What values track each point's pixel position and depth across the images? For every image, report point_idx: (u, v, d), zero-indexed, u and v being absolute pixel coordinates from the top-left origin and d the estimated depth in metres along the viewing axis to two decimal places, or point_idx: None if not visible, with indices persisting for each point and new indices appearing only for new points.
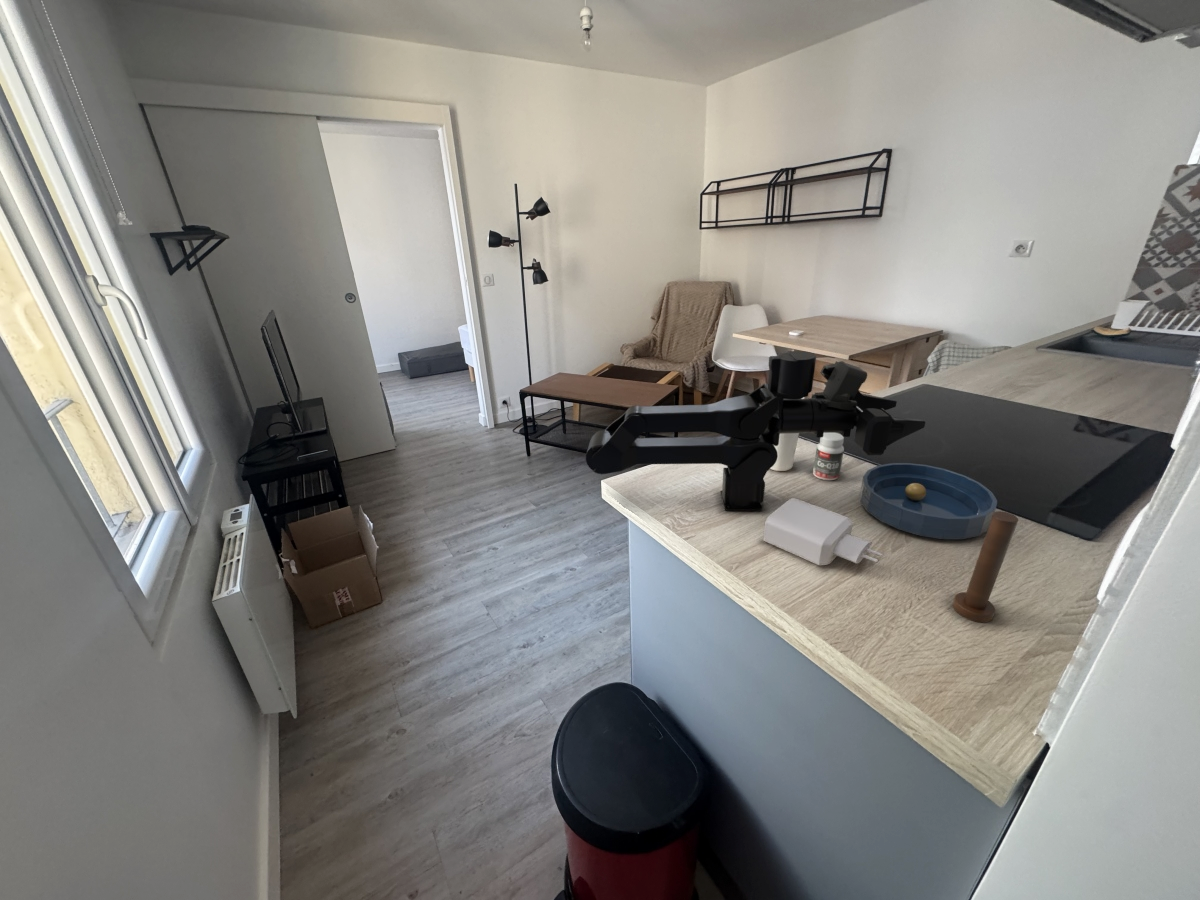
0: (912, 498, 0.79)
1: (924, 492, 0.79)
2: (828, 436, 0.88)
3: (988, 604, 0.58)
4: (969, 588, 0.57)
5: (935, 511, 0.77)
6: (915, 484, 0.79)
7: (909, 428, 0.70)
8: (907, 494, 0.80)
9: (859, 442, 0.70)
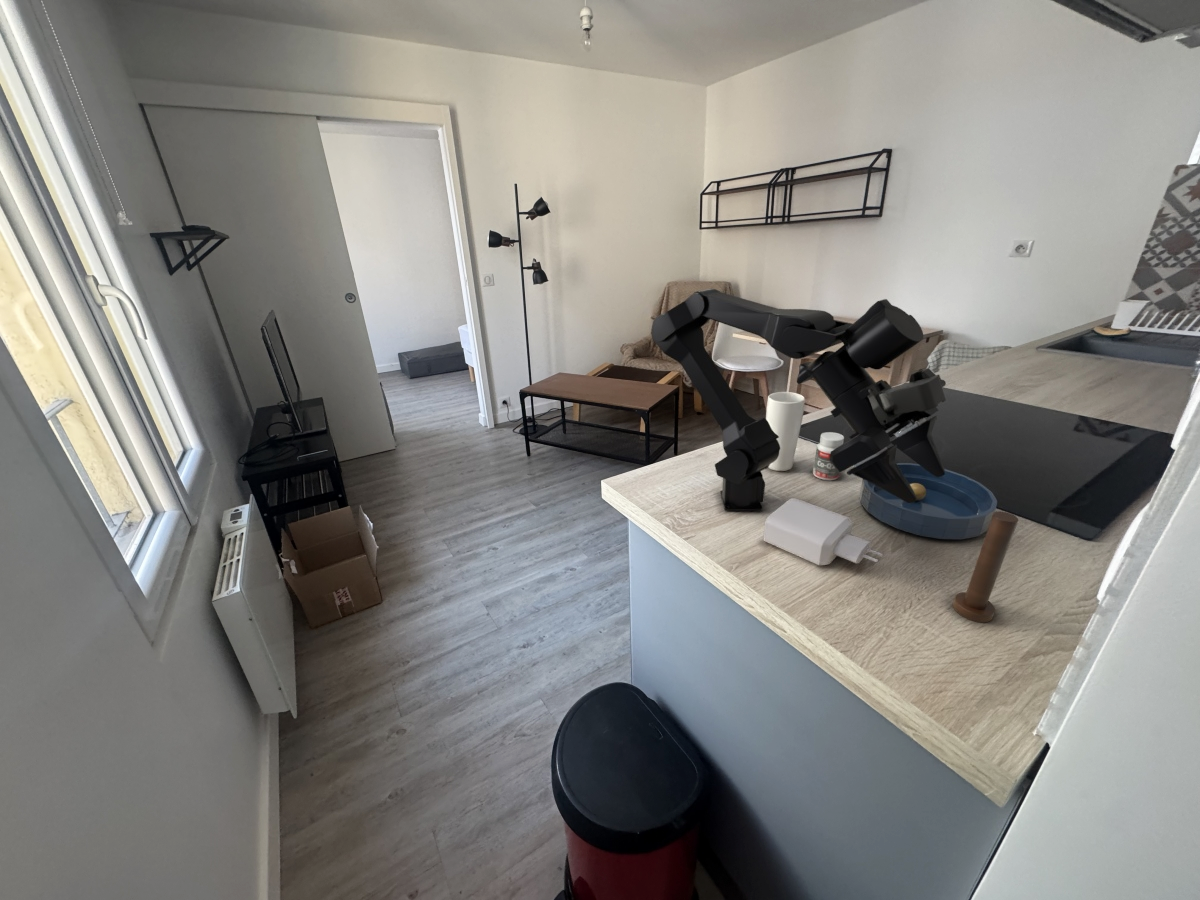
0: None
1: (924, 492, 0.79)
2: (828, 436, 0.88)
3: (988, 604, 0.58)
4: (969, 588, 0.57)
5: (935, 511, 0.77)
6: (915, 484, 0.79)
7: (894, 487, 0.57)
8: None
9: None
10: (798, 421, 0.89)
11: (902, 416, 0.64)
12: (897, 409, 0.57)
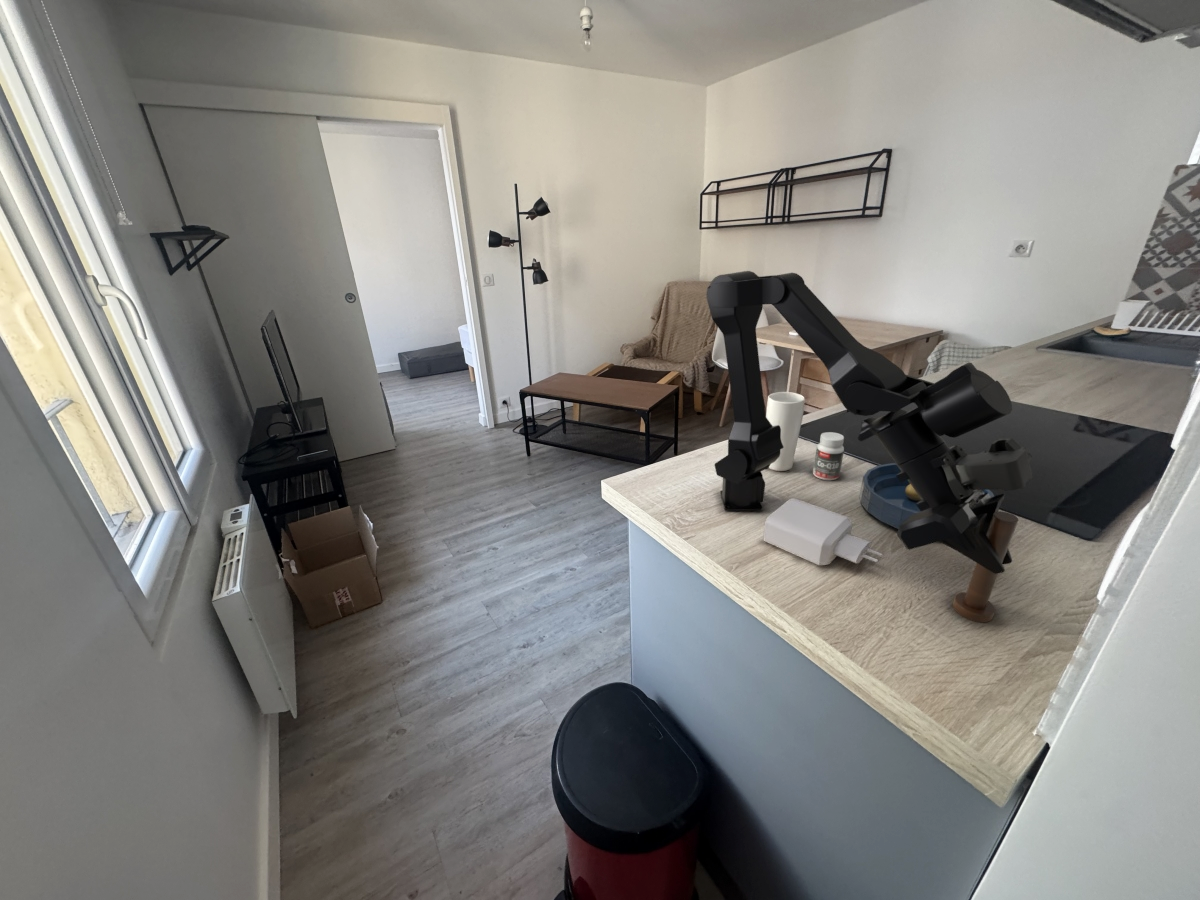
0: (912, 498, 0.79)
1: None
2: (828, 436, 0.88)
3: (988, 604, 0.58)
4: (969, 588, 0.57)
5: None
6: None
7: (980, 556, 0.54)
8: (907, 494, 0.80)
9: (909, 519, 0.54)
10: (798, 421, 0.89)
11: None
12: (977, 484, 0.52)
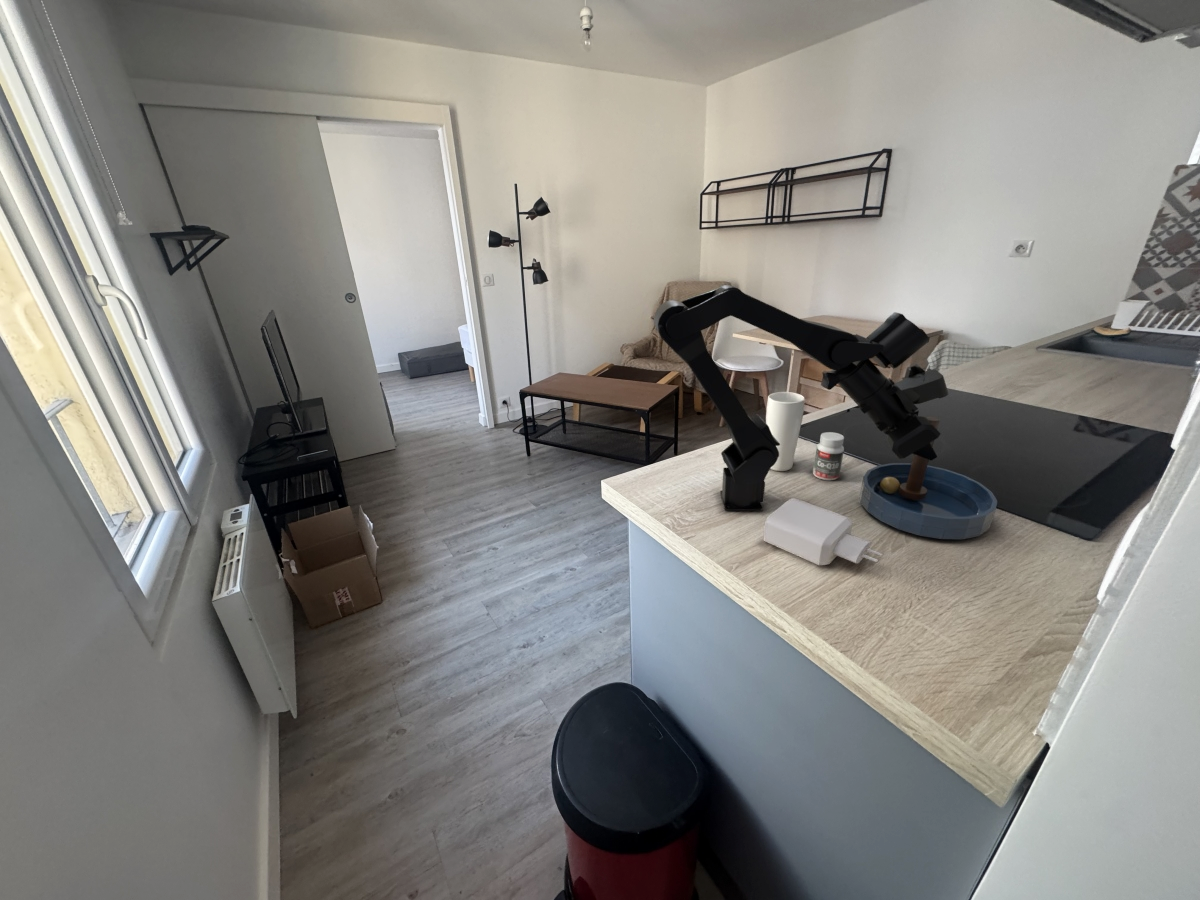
0: (891, 486, 0.81)
1: (880, 483, 0.83)
2: (828, 436, 0.88)
3: None
4: (911, 478, 0.78)
5: (935, 511, 0.77)
6: None
7: (924, 451, 0.75)
8: (893, 490, 0.81)
9: (894, 436, 0.70)
10: (798, 421, 0.89)
11: None
12: (921, 399, 0.71)
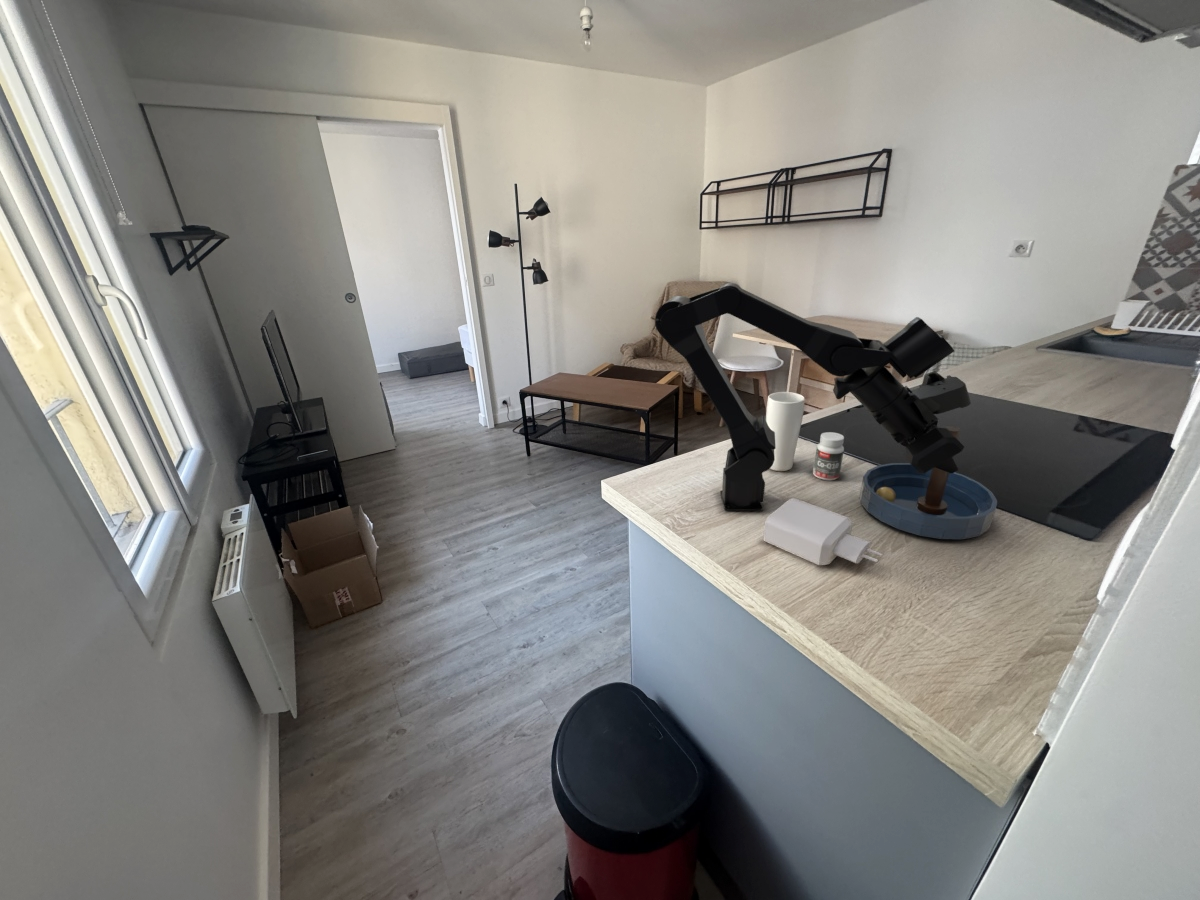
0: None
1: None
2: (828, 436, 0.88)
3: None
4: (931, 492, 0.74)
5: None
6: None
7: (944, 463, 0.70)
8: None
9: (913, 449, 0.65)
10: (798, 421, 0.89)
11: None
12: (941, 409, 0.67)
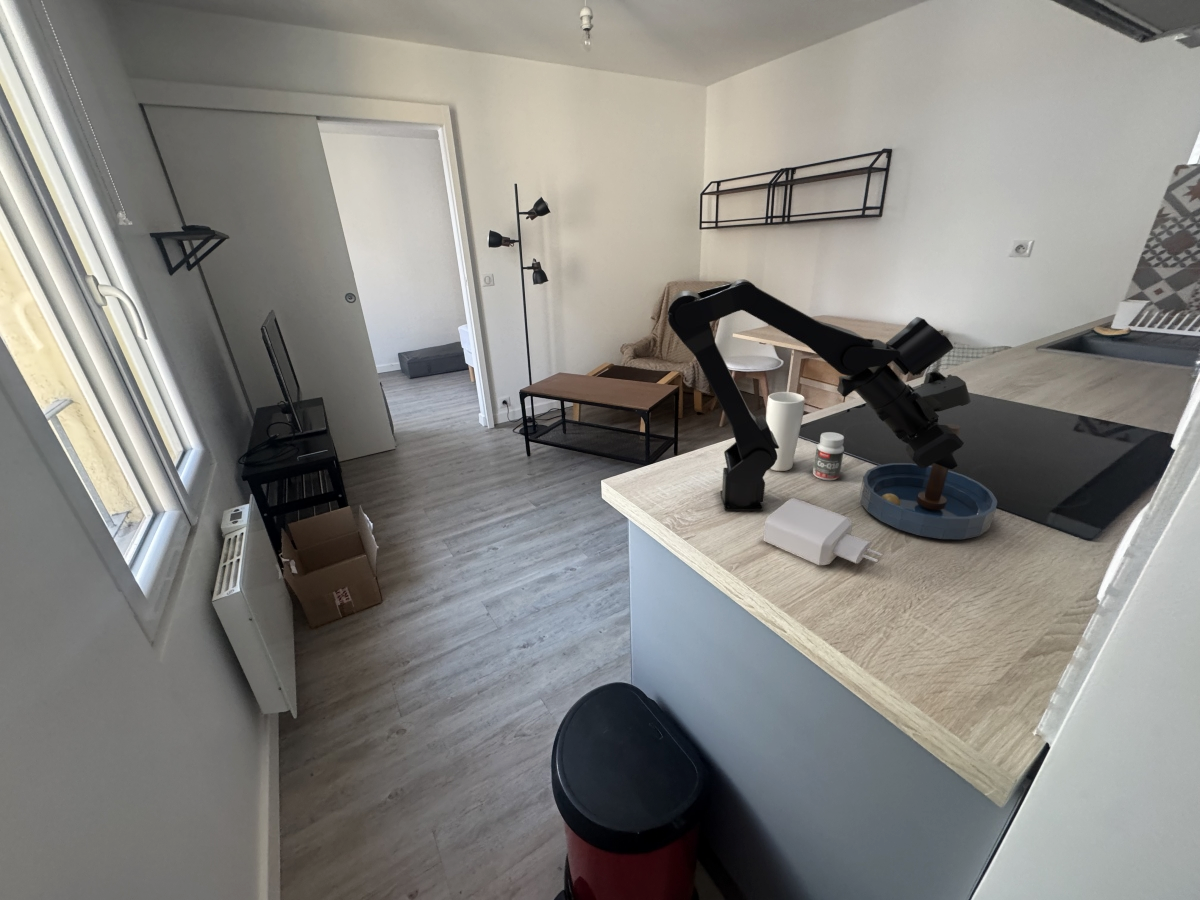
0: None
1: (892, 502, 0.76)
2: (828, 436, 0.88)
3: None
4: (930, 487, 0.76)
5: (935, 511, 0.77)
6: (895, 495, 0.77)
7: (944, 460, 0.72)
8: None
9: (914, 445, 0.68)
10: (798, 421, 0.89)
11: None
12: (942, 406, 0.69)
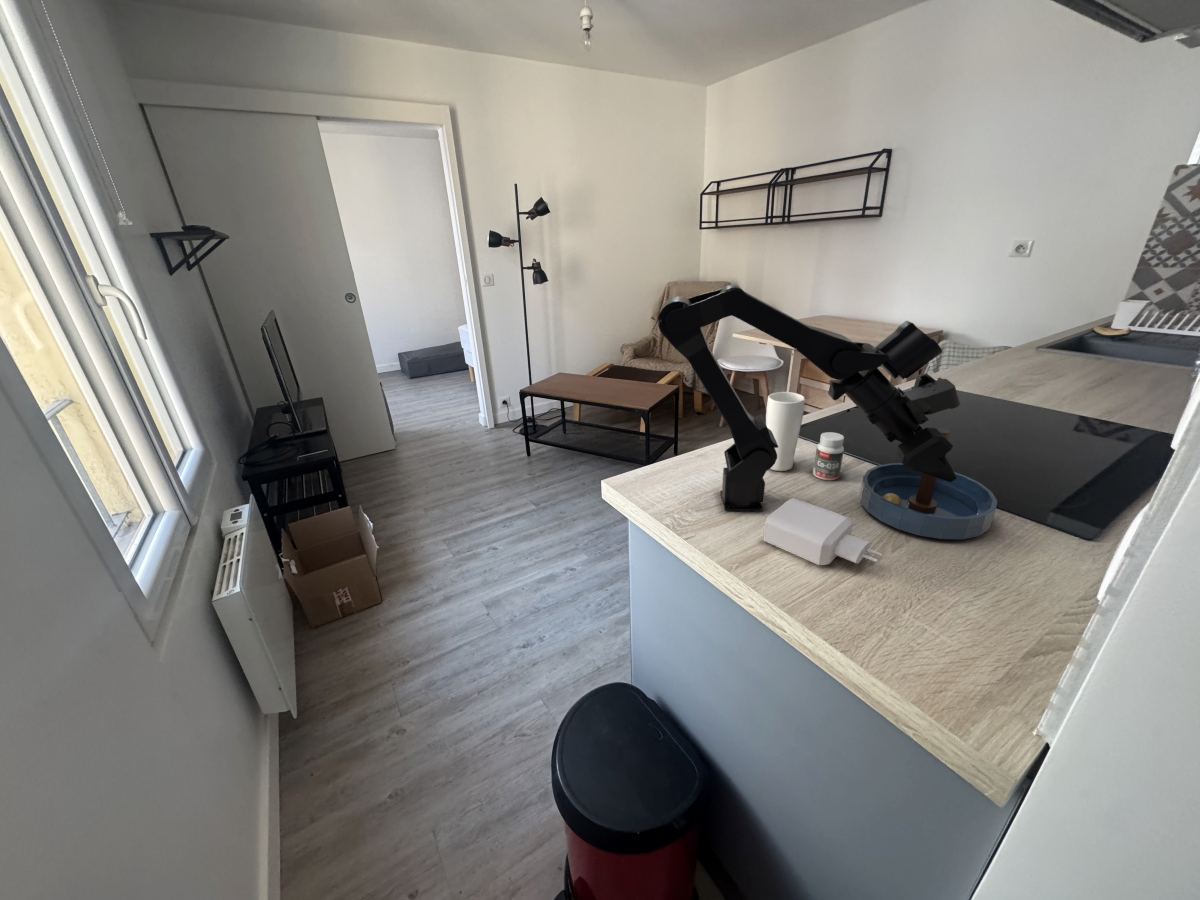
0: None
1: (894, 501, 0.76)
2: (828, 436, 0.88)
3: None
4: (921, 491, 0.77)
5: (935, 511, 0.77)
6: None
7: (943, 472, 0.70)
8: (882, 496, 0.78)
9: (904, 448, 0.68)
10: (798, 421, 0.89)
11: None
12: (932, 409, 0.69)
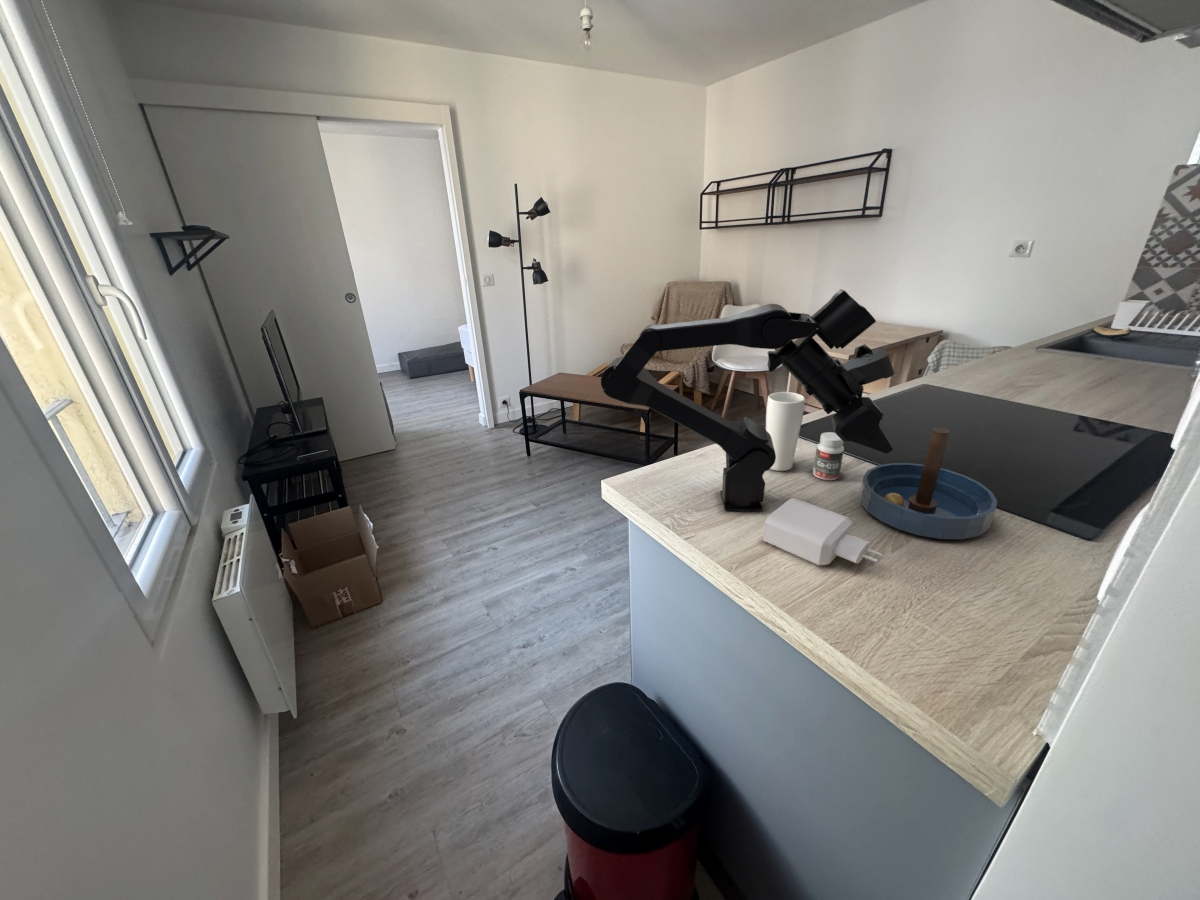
0: (885, 496, 0.78)
1: (898, 500, 0.76)
2: (828, 436, 0.88)
3: None
4: (921, 491, 0.77)
5: (935, 511, 0.77)
6: None
7: (878, 443, 0.69)
8: None
9: (837, 418, 0.67)
10: (798, 421, 0.89)
11: None
12: (866, 379, 0.68)
